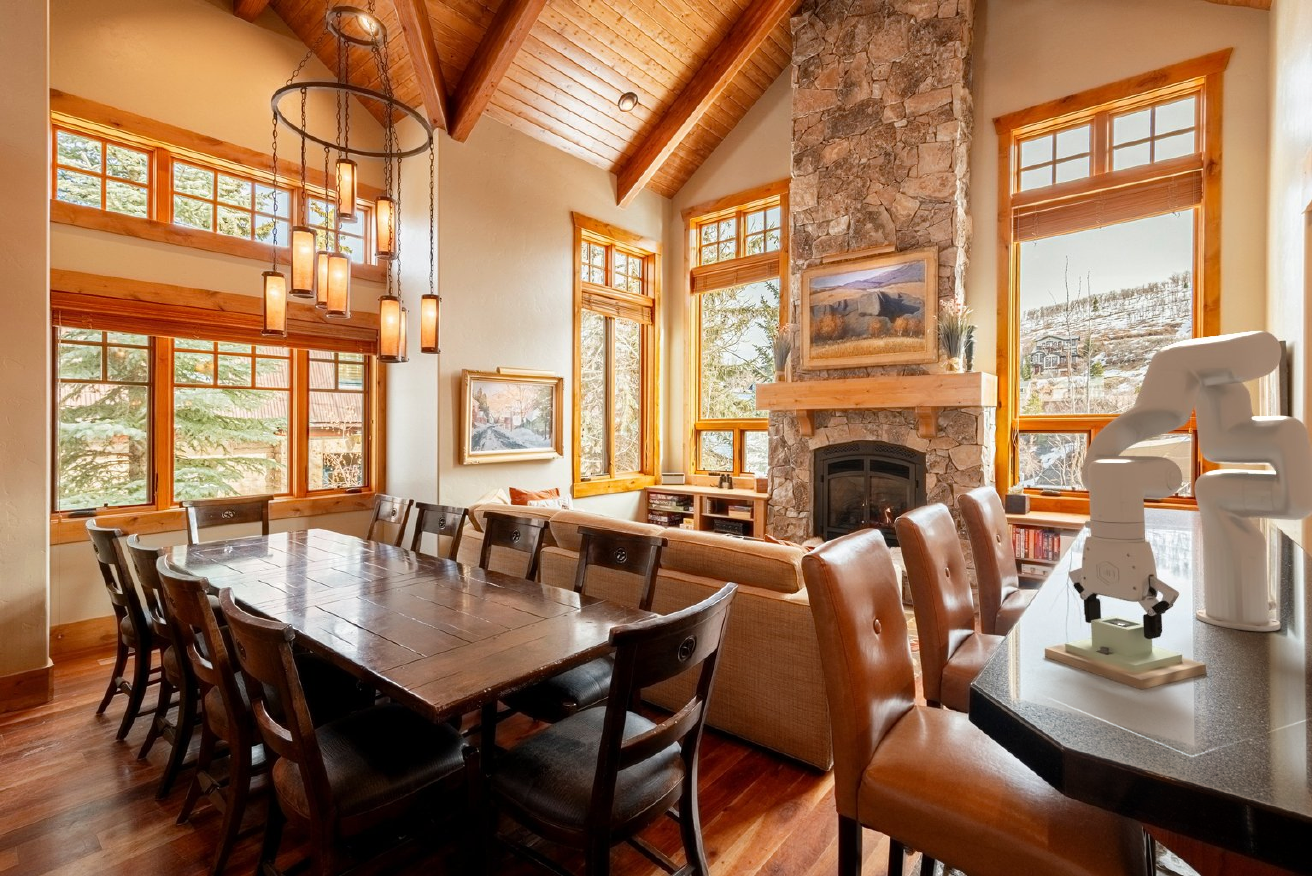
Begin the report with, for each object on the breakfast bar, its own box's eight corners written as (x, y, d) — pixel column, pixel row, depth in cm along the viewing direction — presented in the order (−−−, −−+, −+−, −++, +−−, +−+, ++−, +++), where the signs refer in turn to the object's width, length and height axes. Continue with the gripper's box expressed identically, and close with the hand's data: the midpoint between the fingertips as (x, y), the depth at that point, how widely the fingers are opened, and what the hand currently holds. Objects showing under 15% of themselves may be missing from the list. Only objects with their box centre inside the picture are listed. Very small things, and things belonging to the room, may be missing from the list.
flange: (1110, 641, 112) (1108, 610, 112) (1182, 661, 101) (1181, 627, 101) (1065, 650, 108) (1064, 618, 108) (1135, 672, 97) (1134, 637, 97)
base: (1106, 643, 115) (1105, 636, 115) (1206, 673, 100) (1206, 664, 100) (1044, 656, 110) (1044, 648, 110) (1141, 689, 95) (1140, 679, 95)
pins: (1118, 651, 107) (1117, 620, 107) (1136, 657, 104) (1135, 625, 104) (1093, 657, 105) (1092, 625, 105) (1111, 662, 102) (1110, 630, 102)
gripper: (1054, 526, 112) (1058, 619, 112) (1158, 540, 96) (1163, 648, 96) (1082, 523, 114) (1086, 613, 114) (1189, 535, 98) (1194, 641, 98)
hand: (1121, 629), depth 105 cm, fingers open, 9 cm apart
